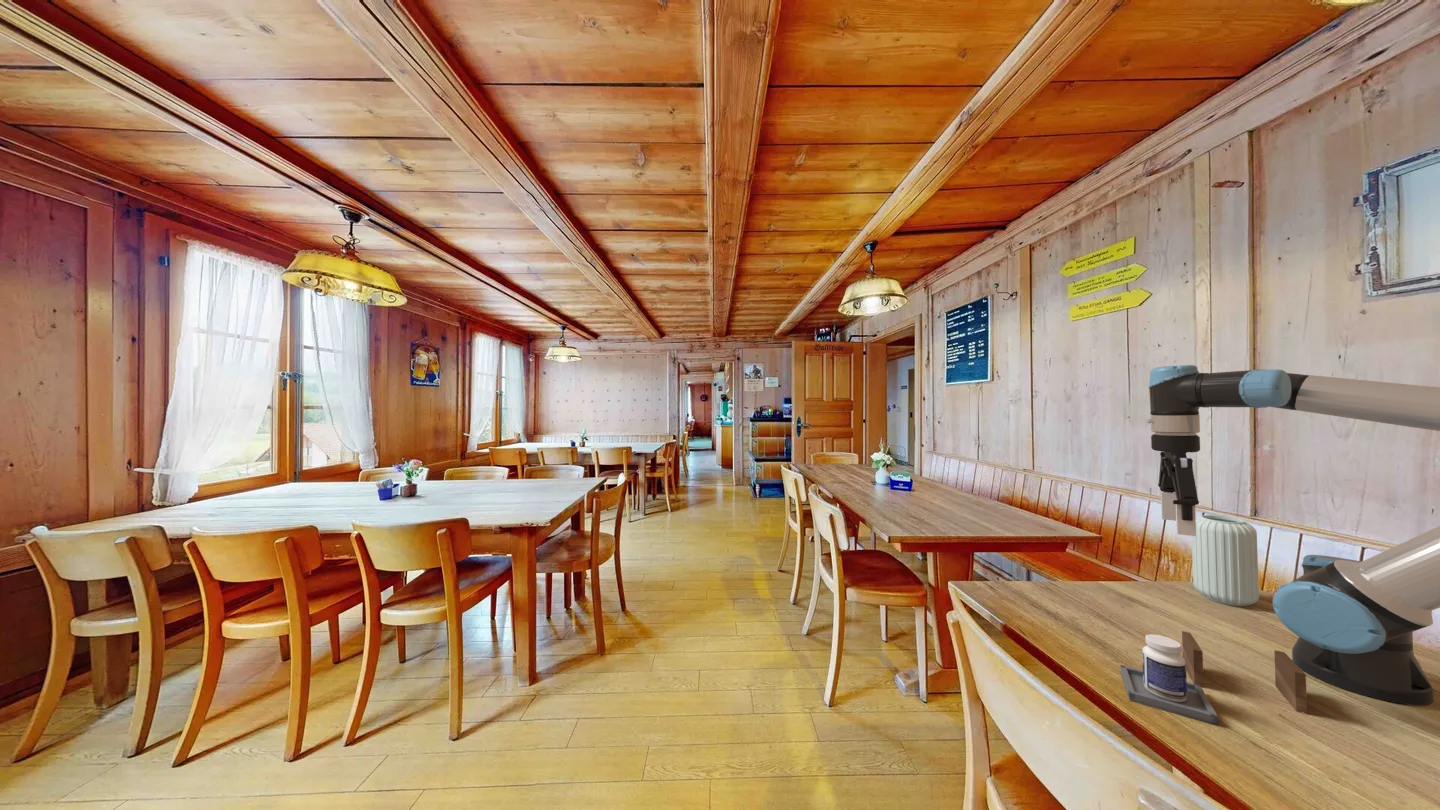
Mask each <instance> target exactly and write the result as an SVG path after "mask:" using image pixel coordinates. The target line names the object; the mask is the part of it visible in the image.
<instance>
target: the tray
mask: <svg viewBox="0 0 1440 810" xmlns="http://www.w3.org/2000/svg"><path fill="white" fill-rule="evenodd" d="M1120 675H1121V678H1122V680H1123V683H1124V687H1125V690H1126V691H1125V692H1126V693H1127V697H1129V698H1128V701H1130V700H1131V702H1134V701H1135V702H1134V703H1137V702H1138V704H1141V705H1145V706H1148V707H1152V708H1154V709H1155V708H1156V709H1158V710H1161V711H1166V712H1169V713H1172V714H1176V715H1179V716H1182V717H1186V718H1190V719H1193V720H1195V721H1196V720H1197V721H1200V722H1204V723H1207V724H1210V725H1214V726H1217V727H1218V726H1219V716H1218V714H1217V713H1216V711H1215V709H1214V707H1213V706H1212V704H1211V703H1210V700H1209V698H1208V696H1207V695H1206V694H1205V692H1204V690H1203V687H1201V686H1200V685H1198V684H1194V683H1193V682H1189V681H1187V700H1186V701H1184V702H1173V701H1169V700H1165V699H1162V698H1160V697H1158V696H1156V695H1154V694H1152V693H1151V692H1149V691H1148V690H1147V689H1146V688H1145V687H1144V684H1143V669H1138V668H1135V667H1134V668H1133V667H1130V666H1127V665H1123V664H1120Z"/></svg>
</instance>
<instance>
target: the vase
mask: <svg viewBox="0 0 1440 810" xmlns="http://www.w3.org/2000/svg"><path fill="white" fill-rule="evenodd" d="M1191 554H1192V555H1191V557H1192V558H1191V559H1192V583H1193V587H1194V589H1195V590H1196V591H1197V592H1198V593H1199V594H1201V595H1202V596H1204V597H1205V598H1206V599H1208V600H1211V601H1214V602H1216V603H1220V604H1224V605H1229V606H1233V607H1234V606H1235V607H1246V606H1249V605H1253V604H1256V603H1257V602H1258V600H1259V599H1260V587H1259V586H1260V585H1259V583H1260V582H1259V562H1258V561H1259V559H1258V557H1259V555H1258V532H1257V530H1256V528H1255V527H1254V526H1253V525H1251V524H1250V523H1248V522H1247V521H1245V520H1243V519H1240V518H1237V517H1232V516H1231V517H1230V516H1226V515H1225V516H1224V515H1216V514H1215V515H1213V514H1203V515H1200V516H1198V517H1196V536H1191Z"/></svg>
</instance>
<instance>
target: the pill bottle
mask: <svg viewBox="0 0 1440 810" xmlns="http://www.w3.org/2000/svg"><path fill="white" fill-rule="evenodd" d="M1144 638H1145V641H1144V642H1145V644H1146V645H1145V646H1143V648H1142V649H1141V650H1142V653H1141V655H1142V656H1141V657H1142V670H1143V684H1144V687H1145V688H1146V689H1147V690H1148V691H1149V692H1151V693H1152V694H1154V695H1156V696H1158V697H1160V698H1162V699H1165V700H1169V701H1173V702H1184V701H1186V700H1187V682H1188V681H1187V678H1188V677H1187V670H1186V661H1185V659H1184V658H1183V655H1181V653H1183V648H1182V644H1181V643H1180V642H1179V641H1176V640H1175V639H1174V638H1173V639H1172V638H1170V637H1167V636H1164V635H1159V634H1151V633H1150V634H1146V635H1145V637H1144Z"/></svg>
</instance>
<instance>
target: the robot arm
mask: <svg viewBox="0 0 1440 810" xmlns="http://www.w3.org/2000/svg"><path fill="white" fill-rule="evenodd" d="M1148 389H1149V390H1148V391H1149V392H1148V393H1149V405H1150V412H1149V413H1150V418H1148V419H1147V423H1148V424H1151V425H1150V429H1151V432H1153V434H1151V435H1150V443H1151V444H1150V445H1151V446H1150V448H1151V449H1152V450H1153V451H1157V452H1160V453H1159V456H1160V463H1159V464H1160V465H1159V475H1158V484H1157V486H1158V487H1159V490H1160V505H1161V507H1160V509H1161V520H1165V521H1176V523H1175V524H1176V525H1175V527H1176V534H1177V535H1182V536H1191V537H1192V536H1196V518H1197V517H1196V505H1199V503H1200V500H1199V497H1198V492H1197V486H1196V481H1195V474H1194V468H1193V467H1194V466H1193V462H1194V461H1193V459H1192V457H1191V458H1189V457H1187V453H1198V452H1200V450H1201V438H1200V436H1199V434H1198V433H1200V431H1201V430H1200V428H1201V426H1200V425H1201V424H1200V423H1201V421H1200V408H1255V409H1261V408H1263V409H1264V408H1276V409H1282V410H1283V409H1284V410H1288V411H1289V410H1290V411H1298V412H1305V413H1313V414H1318V415H1319V414H1321V415H1326V416H1333V417H1341V418H1347V419H1353V420H1361V421H1367V422H1368V421H1369V422H1374V423H1381V424H1388V425H1395V426H1402V427H1408V428H1414V429H1415V428H1416V429H1422V430H1428V431H1434V432H1440V387H1438V386H1429V385H1417V384H1408V383H1407V384H1405V383H1398V382H1396V383H1395V382H1387V381H1386V382H1384V381H1377V380H1376V381H1375V380H1366V379H1365V380H1363V379H1356V378H1355V379H1353V378H1344V377H1333V376H1332V377H1331V376H1323V375H1312V374H1311V375H1309V374H1300V373H1290V372H1289V373H1288V372H1286V371H1285V370H1283V369H1280V368H1279V369H1278V368H1277V369H1275V368H1274V369H1273V368H1272V369H1265V368H1262V369H1251V370H1249V369H1248V370H1235V371H1233V370H1232V371H1222V372H1221V371H1219V372H1210V373H1209V372H1200V371H1199V370H1198V367H1197V366H1196V365H1194V364H1184V365H1181V364H1180V365H1167V366H1158V367H1154V368H1152V369H1151V370H1150V371H1149V385H1148ZM1301 567H1302V568H1303V569H1302V570H1303V575H1301V576H1299V577H1298V578H1296V579H1294V580H1292V581H1289V582H1286V583H1284V584H1281V585H1280V586H1279V587H1278V588H1277V590H1275V594H1274V595H1273V598H1272V607H1273V611H1274V613H1275V614H1276V617H1277V618H1278V619H1279V621H1280V622H1281V623H1282V624H1283V625H1284V626H1285V627H1286V628H1287V629H1288V630H1289V631H1291V632H1292V633H1293V634H1294V635H1296V636H1298V639H1297V641H1296V642H1295V644H1294V645H1293V647H1292V650H1291V657H1292V658H1291V659H1292V661H1293V662H1294V663H1295V664H1296V665H1297V666H1298V667H1299V668H1300V669H1301V670H1302V671H1303V672H1304V673H1307V674H1309V675H1311V676H1313V677H1315V678H1317V679H1319V680H1320V681H1321V680H1322V681H1323V682H1326V683H1328V684H1330V685H1332V686H1336V687H1338V688H1341V689H1344V690H1347V691H1350V692H1353V693H1356V694H1360V695H1362V696H1366V697H1370V698H1373V699H1374V698H1375V699H1376V700H1382V701H1388V702H1390V703H1391V702H1392V703H1398V704H1403V705H1410V706H1412V705H1413V706H1426V705H1431V704H1433V702H1434V689H1433V685H1432V684H1431V683H1430V681H1429V679H1428V676H1427V675H1426V673H1425V672H1424V669H1423V668H1422V666H1421V665H1420V663H1419V661H1418V659H1417V658H1416V656H1415V653H1414V645H1413V643H1414V637H1413V633H1414V632H1415V631H1418V630H1420V629H1421V630H1422V629H1424V628H1427V627H1429V626H1432V625H1433V624H1434V620H1433V619H1434V618H1433V613H1432V612H1433V611H1434V610H1437V609H1440V525H1438V526H1437V527H1435V528H1432V529H1430V530H1428V531H1425V532H1423V533H1421V534H1419V535H1416V536H1414V537H1413V538H1411V539H1408V540H1406V541H1403V542H1401V543H1400V544H1397V545H1395V546H1393V547H1391V548H1389V549H1387V550H1384V551H1382V552H1380V553H1377V554H1375V555H1374V556H1371V557H1369V558H1366V559H1365V560H1362V561H1361V560H1357V559H1356V560H1354V559H1350V558H1349V559H1348V558H1343V557H1338V556H1337V557H1336V556H1329V555H1323V554H1322V555H1321V554H1307V555H1305V556H1304V557H1303V561H1302V562H1301Z"/></svg>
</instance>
